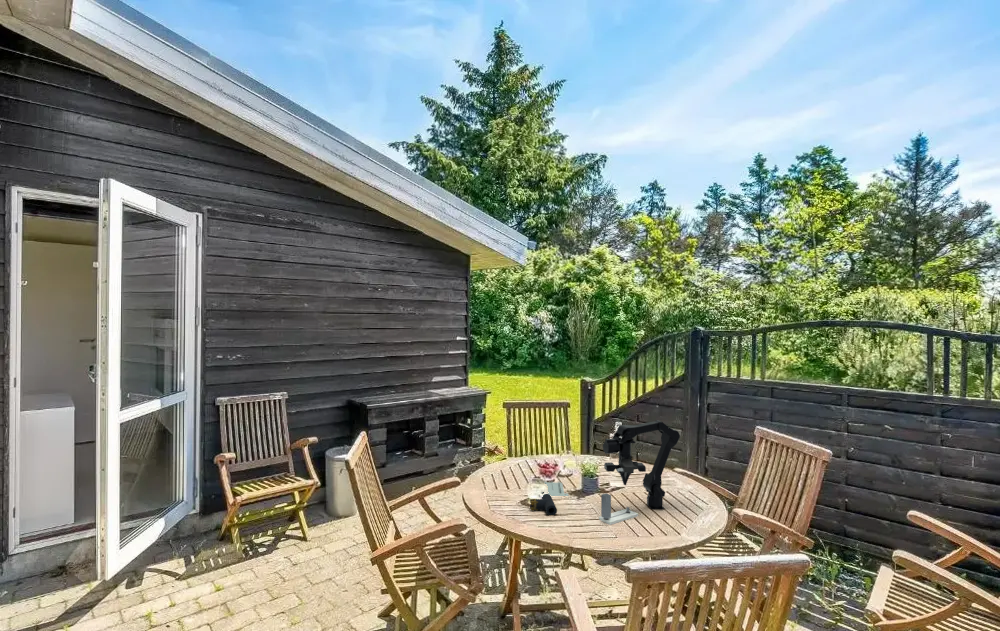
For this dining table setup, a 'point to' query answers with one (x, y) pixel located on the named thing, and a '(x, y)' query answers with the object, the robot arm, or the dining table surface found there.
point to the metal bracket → (556, 489)
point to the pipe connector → (544, 504)
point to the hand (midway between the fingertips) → (624, 484)
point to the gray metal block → (605, 505)
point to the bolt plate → (619, 516)
